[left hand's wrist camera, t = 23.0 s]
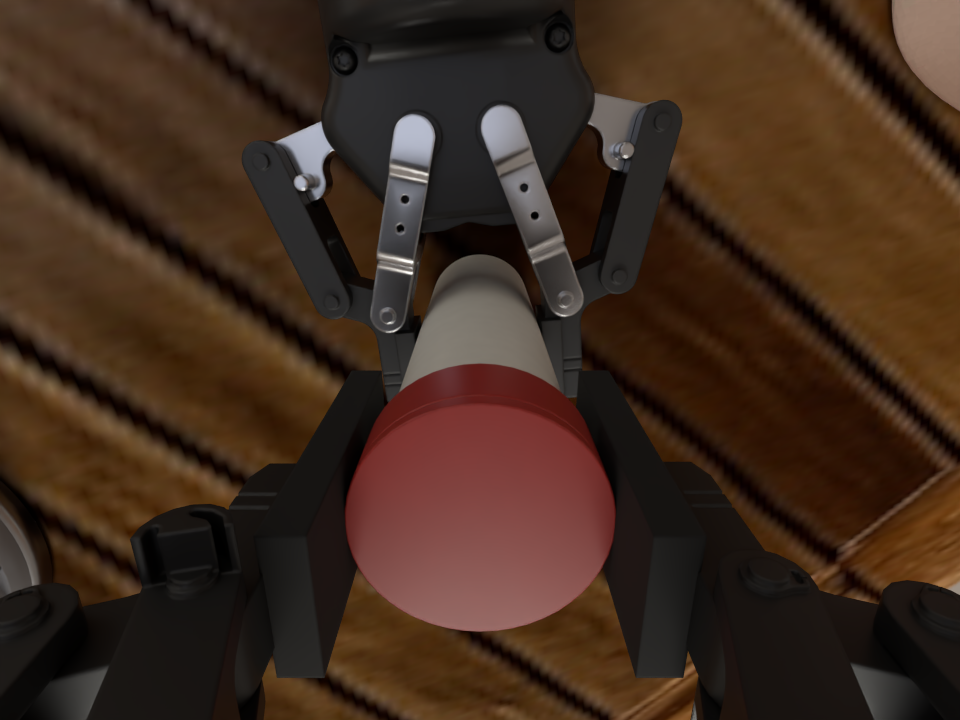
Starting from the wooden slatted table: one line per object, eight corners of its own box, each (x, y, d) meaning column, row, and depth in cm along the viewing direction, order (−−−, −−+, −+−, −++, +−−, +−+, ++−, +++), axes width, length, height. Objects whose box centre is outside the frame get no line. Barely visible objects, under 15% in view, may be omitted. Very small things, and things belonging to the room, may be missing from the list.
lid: (460, 597, 13) (457, 670, 11) (316, 450, 12) (285, 505, 10) (639, 488, 12) (667, 548, 10) (504, 314, 11) (509, 347, 9)
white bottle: (543, 318, 26) (627, 531, 11) (463, 361, 27) (442, 615, 12) (498, 236, 25) (524, 356, 10) (415, 284, 26) (325, 462, 11)
